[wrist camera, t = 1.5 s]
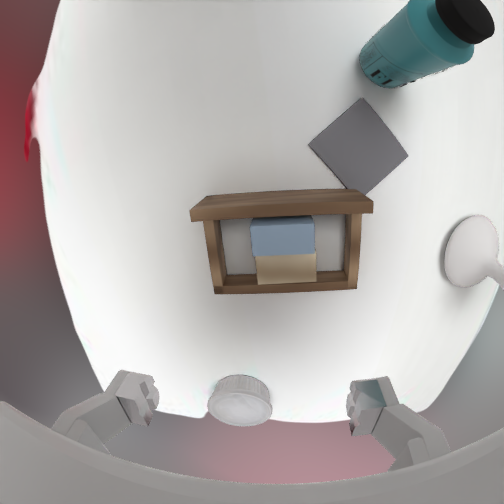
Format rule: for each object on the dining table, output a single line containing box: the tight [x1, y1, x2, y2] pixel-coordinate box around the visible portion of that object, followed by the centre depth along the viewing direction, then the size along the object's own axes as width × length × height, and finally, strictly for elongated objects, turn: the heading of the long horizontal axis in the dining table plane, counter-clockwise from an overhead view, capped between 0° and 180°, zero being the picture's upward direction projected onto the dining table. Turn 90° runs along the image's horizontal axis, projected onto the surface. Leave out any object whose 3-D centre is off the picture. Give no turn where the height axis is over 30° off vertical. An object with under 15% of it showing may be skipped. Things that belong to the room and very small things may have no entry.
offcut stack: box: [255, 249, 316, 285], centre depth 33 cm, size 4×7×4 cm, turn 96°
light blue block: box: [250, 215, 315, 256], centre depth 30 cm, size 3×6×8 cm, turn 95°
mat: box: [308, 97, 408, 195], centre depth 29 cm, size 9×9×1 cm
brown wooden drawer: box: [190, 189, 373, 294], centre depth 31 cm, size 12×18×7 cm, turn 95°
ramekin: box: [207, 375, 272, 426], centre depth 44 cm, size 11×11×5 cm
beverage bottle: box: [359, 0, 495, 89], centre depth 15 cm, size 6×7×20 cm
